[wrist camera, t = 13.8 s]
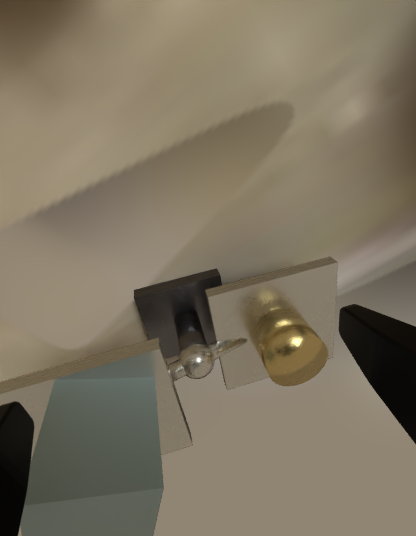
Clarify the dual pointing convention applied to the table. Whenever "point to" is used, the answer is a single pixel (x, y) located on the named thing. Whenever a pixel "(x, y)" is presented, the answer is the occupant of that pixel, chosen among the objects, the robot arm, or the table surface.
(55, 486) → the block
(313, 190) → the table surface
